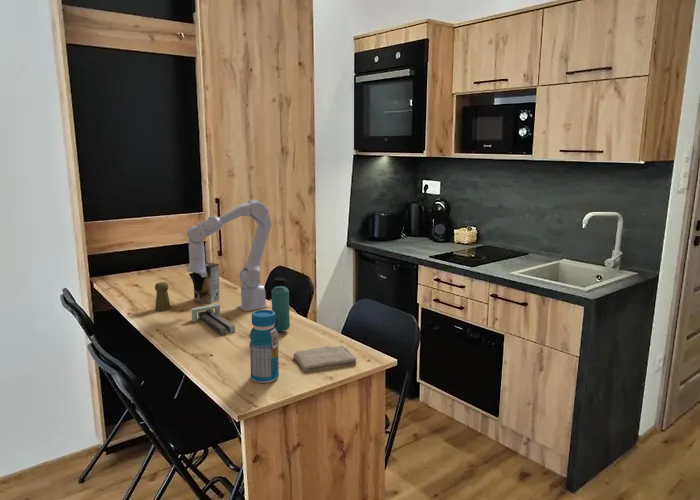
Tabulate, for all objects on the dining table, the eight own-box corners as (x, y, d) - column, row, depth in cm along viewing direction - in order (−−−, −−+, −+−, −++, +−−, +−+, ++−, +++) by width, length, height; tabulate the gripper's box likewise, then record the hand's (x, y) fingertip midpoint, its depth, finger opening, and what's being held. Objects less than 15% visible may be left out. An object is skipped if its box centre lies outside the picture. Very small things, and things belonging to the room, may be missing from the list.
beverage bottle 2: (293, 329, 195) (292, 277, 190) (285, 336, 189) (284, 281, 184) (276, 327, 197) (276, 275, 192) (268, 333, 191) (267, 279, 186)
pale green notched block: (217, 315, 209) (217, 303, 208) (220, 316, 207) (219, 305, 206) (192, 320, 203) (191, 308, 202) (194, 322, 201) (193, 310, 200)
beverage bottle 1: (254, 386, 151) (252, 319, 147) (247, 374, 158) (245, 310, 154) (283, 381, 154) (282, 315, 150) (274, 369, 162) (273, 306, 158)
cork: (165, 311, 212) (164, 285, 210) (152, 310, 213) (150, 284, 211) (173, 307, 218) (172, 281, 215) (160, 306, 219) (158, 280, 217)
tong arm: (210, 316, 208) (210, 307, 207) (235, 332, 191) (234, 323, 191) (205, 317, 207) (205, 308, 206) (230, 333, 190) (229, 324, 189)
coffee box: (193, 301, 226) (191, 264, 223) (203, 297, 232) (201, 261, 228) (211, 303, 223) (209, 266, 219) (220, 299, 229) (219, 263, 225)
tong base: (210, 316, 208) (210, 310, 207) (233, 332, 191) (233, 326, 190) (198, 318, 205) (197, 312, 204) (220, 335, 188) (220, 329, 187)
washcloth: (358, 365, 166) (359, 356, 166) (304, 375, 160) (304, 365, 159) (344, 351, 177) (344, 342, 176) (292, 359, 170) (292, 350, 170)
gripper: (180, 254, 209) (182, 288, 212) (193, 262, 197) (195, 297, 200) (197, 252, 213) (199, 285, 216) (211, 259, 201) (213, 294, 204)
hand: (198, 291), depth 208 cm, fingers closed
